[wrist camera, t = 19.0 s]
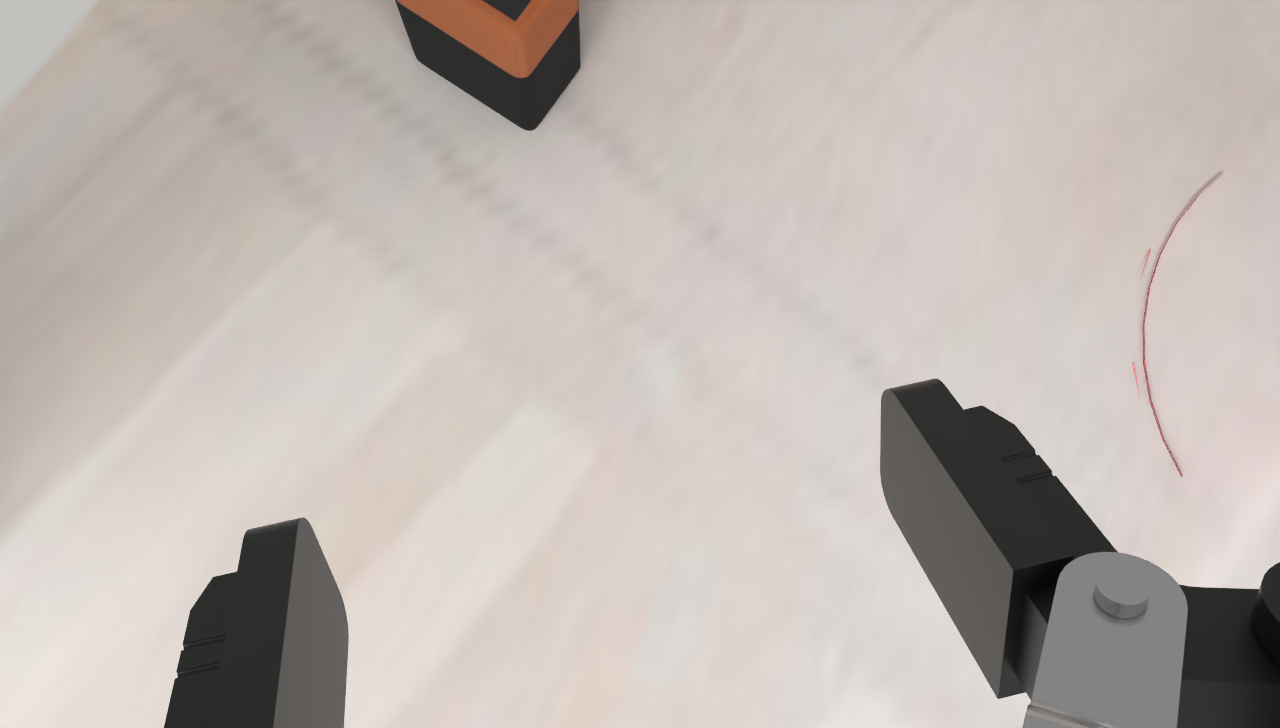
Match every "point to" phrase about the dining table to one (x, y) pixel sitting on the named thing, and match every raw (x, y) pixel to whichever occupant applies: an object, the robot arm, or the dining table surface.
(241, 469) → the dining table surface
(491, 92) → the battery
